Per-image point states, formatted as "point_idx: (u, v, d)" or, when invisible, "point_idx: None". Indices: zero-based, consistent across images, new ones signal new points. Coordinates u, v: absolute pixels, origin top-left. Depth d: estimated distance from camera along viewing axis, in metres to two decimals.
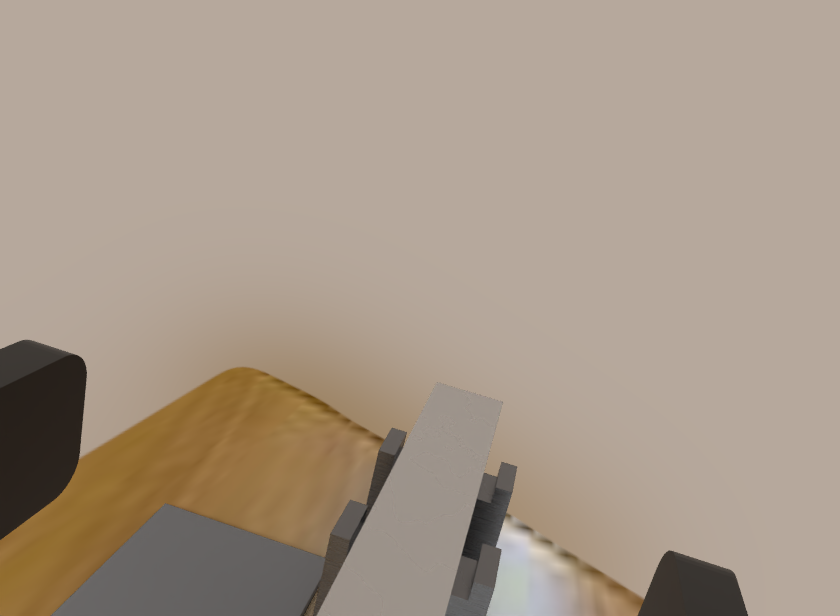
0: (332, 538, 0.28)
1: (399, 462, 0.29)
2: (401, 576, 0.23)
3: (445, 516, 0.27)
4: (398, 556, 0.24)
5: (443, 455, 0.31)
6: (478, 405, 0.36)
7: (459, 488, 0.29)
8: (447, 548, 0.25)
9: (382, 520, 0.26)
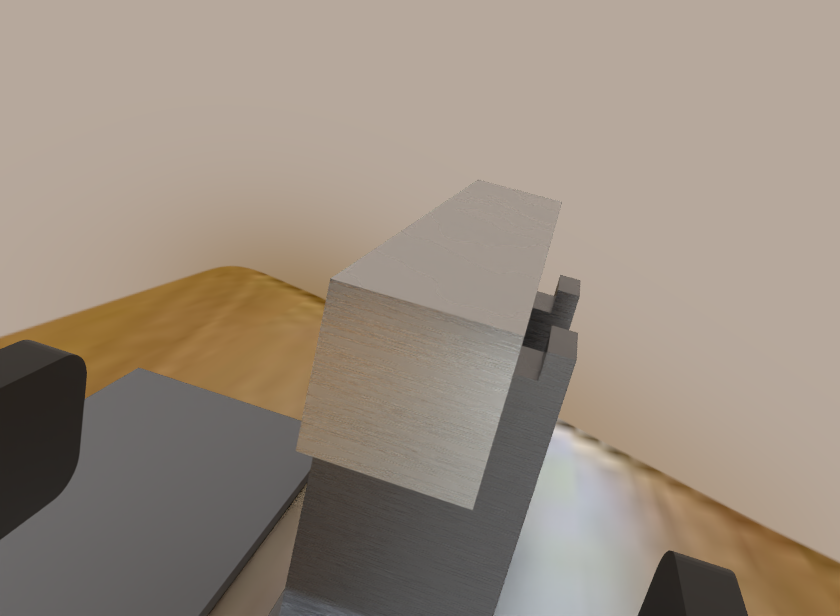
0: None
1: (441, 208, 0.22)
2: (460, 270, 0.15)
3: (511, 246, 0.19)
4: (454, 258, 0.16)
5: (497, 214, 0.23)
6: (532, 198, 0.28)
7: (525, 234, 0.21)
8: (522, 265, 0.17)
9: (425, 234, 0.18)
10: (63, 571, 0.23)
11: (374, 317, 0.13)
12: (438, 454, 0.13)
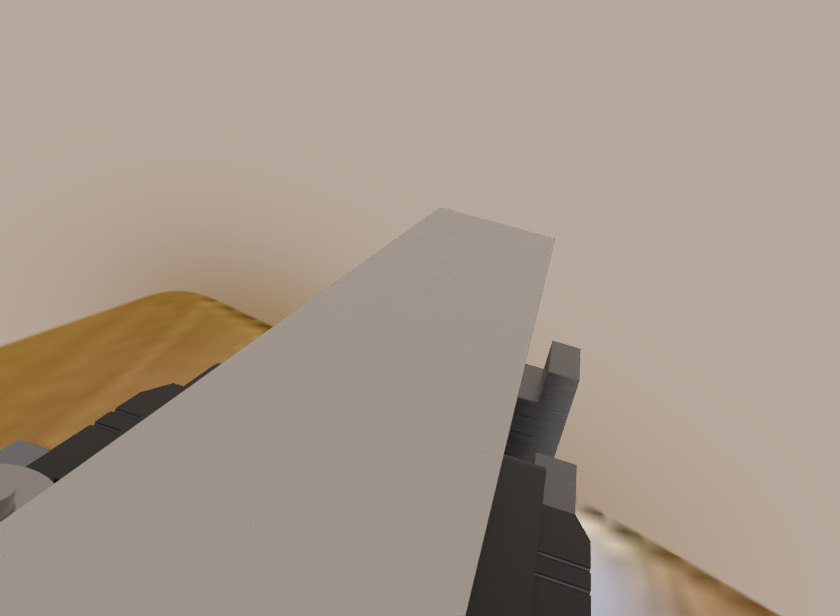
0: None
1: (360, 271, 0.14)
2: (330, 461, 0.07)
3: (461, 353, 0.11)
4: (331, 415, 0.08)
5: (454, 274, 0.15)
6: (513, 236, 0.20)
7: (492, 317, 0.13)
8: (472, 409, 0.09)
9: (299, 345, 0.10)
10: None
11: None
12: None
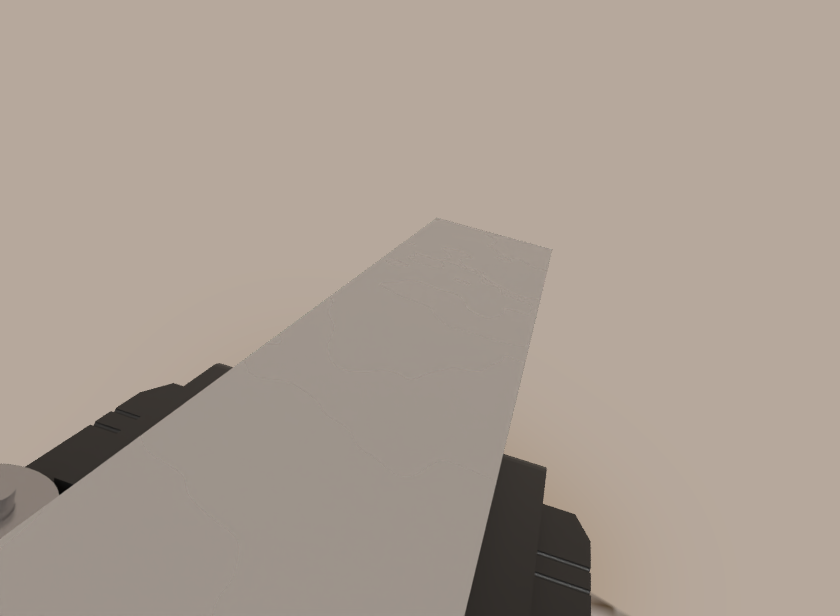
0: None
1: (355, 285, 0.13)
2: (321, 485, 0.07)
3: (456, 370, 0.11)
4: (322, 436, 0.08)
5: (449, 287, 0.15)
6: (510, 247, 0.20)
7: (488, 332, 0.13)
8: (466, 429, 0.09)
9: (291, 363, 0.10)
10: None
11: None
12: None
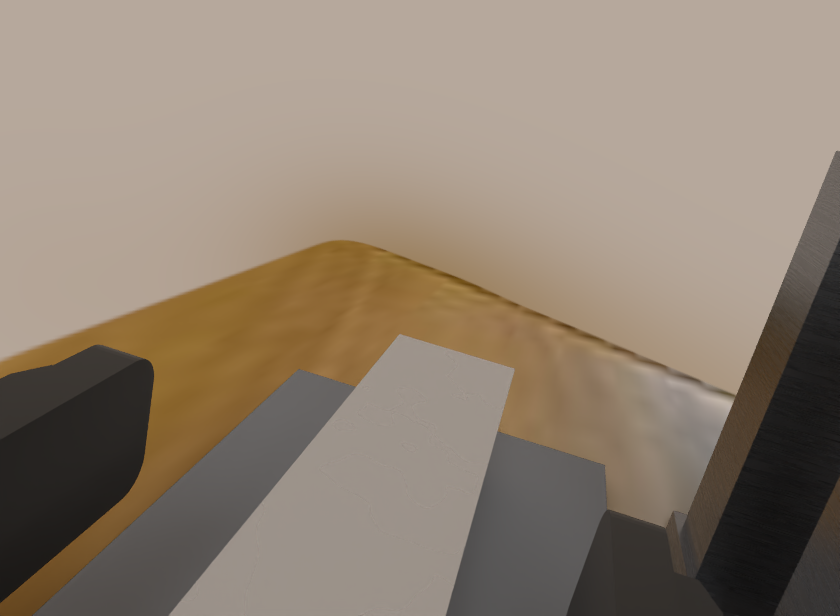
0: None
1: (293, 475, 0.13)
2: None
3: (378, 613, 0.11)
4: None
5: (394, 460, 0.15)
6: (470, 372, 0.20)
7: (423, 535, 0.13)
8: None
9: None
10: None
11: None
12: None
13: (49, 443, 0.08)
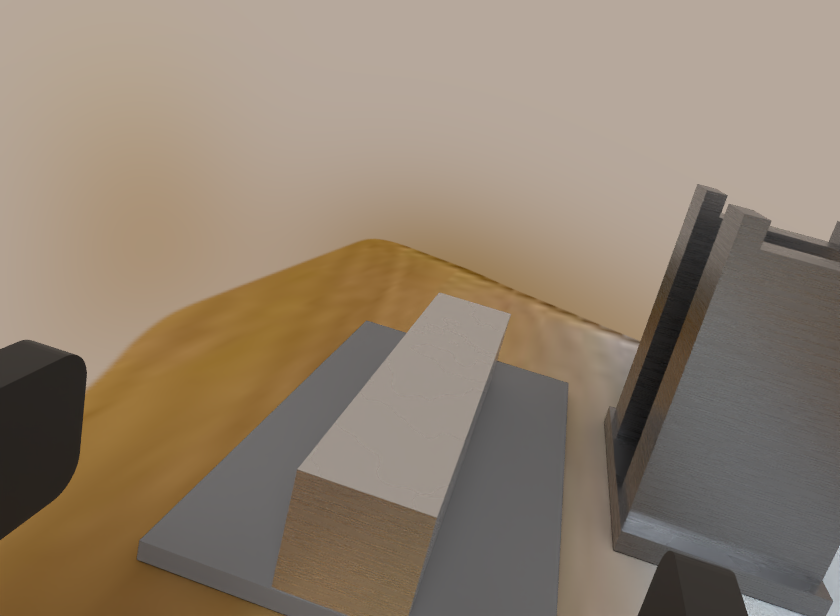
0: (746, 220, 0.22)
1: (398, 348, 0.26)
2: (400, 440, 0.20)
3: (450, 395, 0.23)
4: (397, 423, 0.21)
5: (447, 347, 0.28)
6: (484, 314, 0.33)
7: (466, 375, 0.25)
8: (453, 421, 0.22)
9: (379, 392, 0.22)
10: None
11: (329, 497, 0.17)
12: (376, 595, 0.18)
13: None
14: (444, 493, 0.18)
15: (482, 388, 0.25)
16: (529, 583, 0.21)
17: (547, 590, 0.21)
